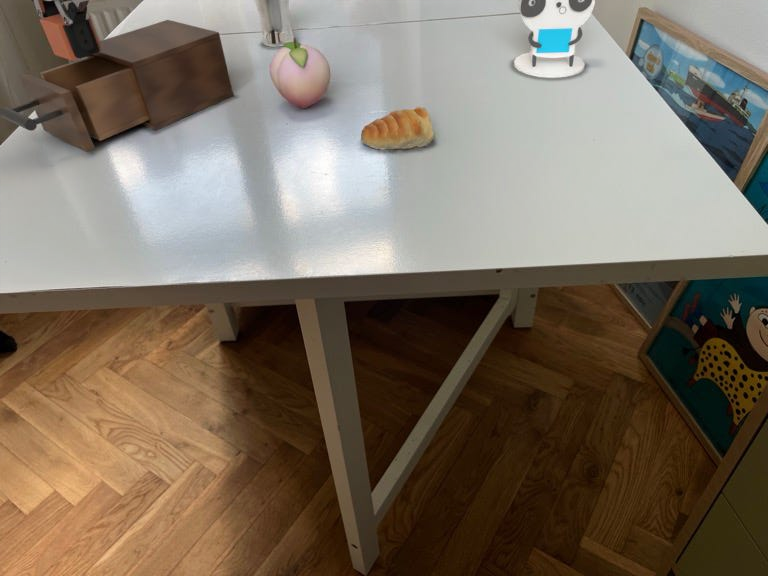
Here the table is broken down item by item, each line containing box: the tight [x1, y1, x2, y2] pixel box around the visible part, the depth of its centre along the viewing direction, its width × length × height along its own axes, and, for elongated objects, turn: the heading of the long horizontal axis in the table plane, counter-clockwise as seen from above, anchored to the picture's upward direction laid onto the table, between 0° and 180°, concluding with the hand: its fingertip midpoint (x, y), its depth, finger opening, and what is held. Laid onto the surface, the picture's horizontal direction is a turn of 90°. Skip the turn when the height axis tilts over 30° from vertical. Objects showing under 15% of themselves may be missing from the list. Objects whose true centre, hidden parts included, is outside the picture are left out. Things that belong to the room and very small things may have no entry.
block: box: [39, 14, 102, 62], centre depth 72 cm, size 4×4×4 cm
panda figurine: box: [513, 0, 596, 79], centre depth 87 cm, size 12×11×15 cm
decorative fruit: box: [269, 37, 331, 109], centre depth 80 cm, size 9×8×10 cm
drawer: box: [0, 55, 149, 152], centre depth 76 cm, size 18×11×8 cm, turn 142°
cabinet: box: [87, 19, 234, 131], centre depth 83 cm, size 15×13×10 cm
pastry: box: [360, 106, 435, 151], centre depth 73 cm, size 9×7×4 cm
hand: (77, 50), depth 73 cm, fingers closed on block, 4 cm apart
